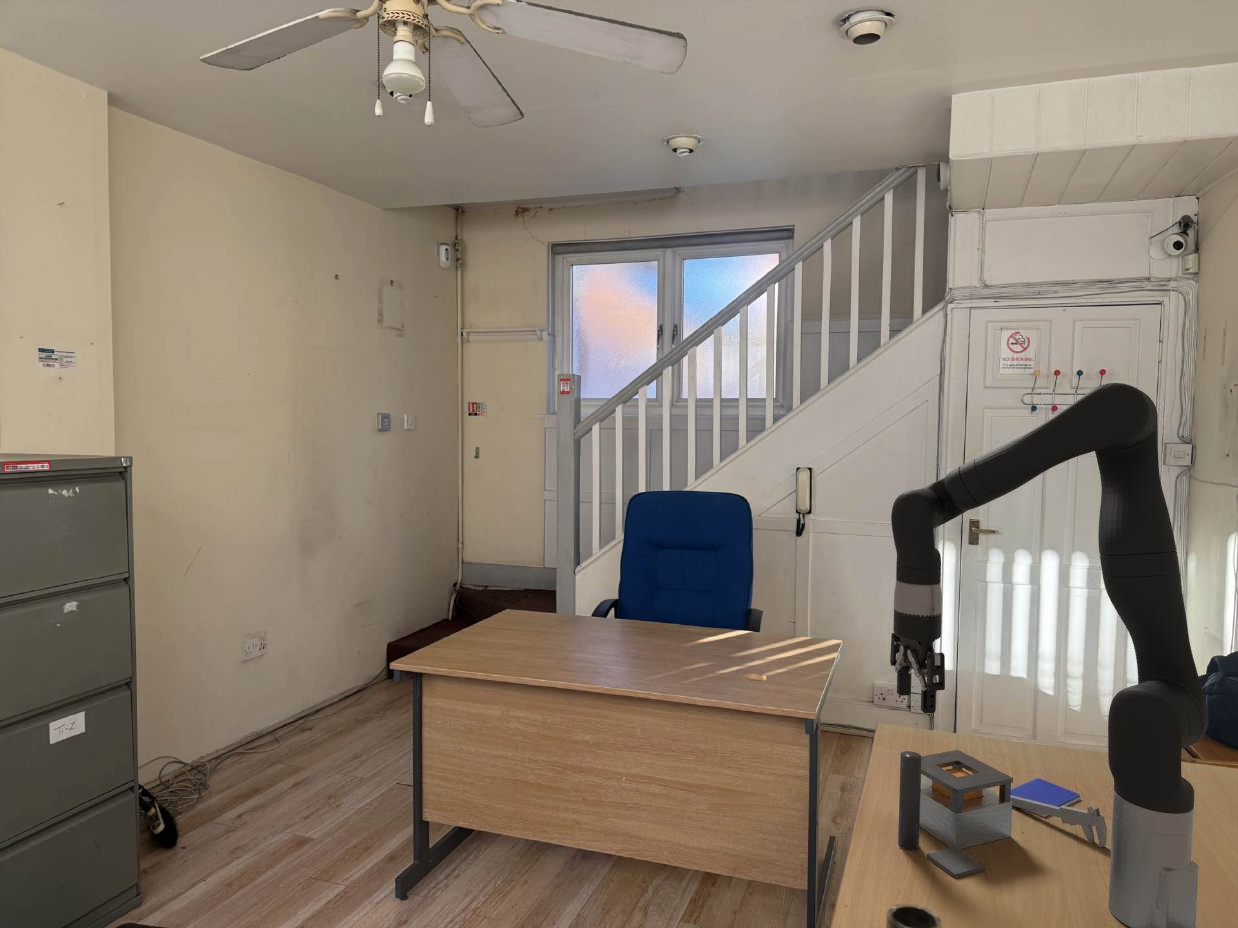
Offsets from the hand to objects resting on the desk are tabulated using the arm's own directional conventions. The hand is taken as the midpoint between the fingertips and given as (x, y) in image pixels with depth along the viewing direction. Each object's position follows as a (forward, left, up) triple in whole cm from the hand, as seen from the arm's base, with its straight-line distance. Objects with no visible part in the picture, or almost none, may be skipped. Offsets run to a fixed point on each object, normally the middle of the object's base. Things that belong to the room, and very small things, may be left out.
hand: (915, 703), depth 132 cm
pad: (-11, +1, -22) cm, 24 cm away
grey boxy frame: (-2, -8, -22) cm, 23 cm away
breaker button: (-2, -8, -18) cm, 20 cm away
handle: (-4, +4, -22) cm, 22 cm away
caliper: (-6, -24, -22) cm, 33 cm away
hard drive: (0, -30, -23) cm, 37 cm away
